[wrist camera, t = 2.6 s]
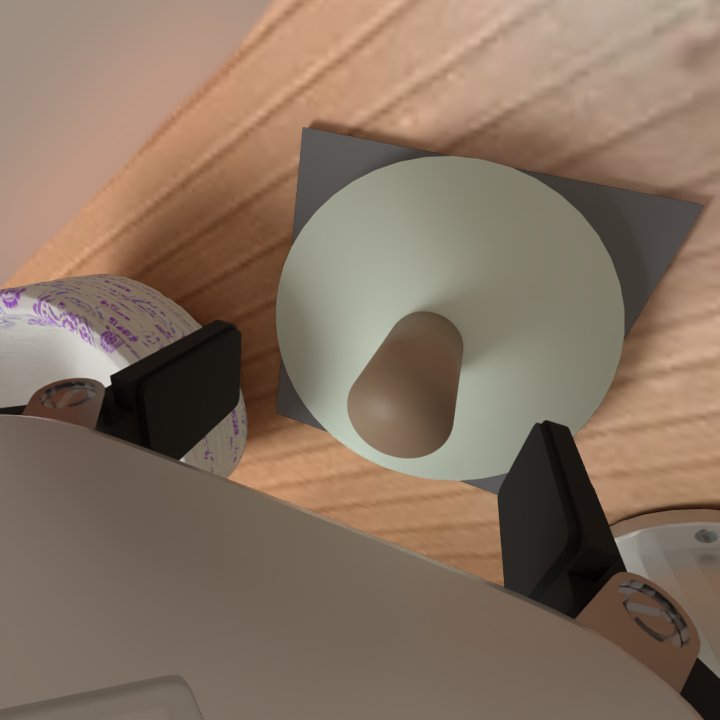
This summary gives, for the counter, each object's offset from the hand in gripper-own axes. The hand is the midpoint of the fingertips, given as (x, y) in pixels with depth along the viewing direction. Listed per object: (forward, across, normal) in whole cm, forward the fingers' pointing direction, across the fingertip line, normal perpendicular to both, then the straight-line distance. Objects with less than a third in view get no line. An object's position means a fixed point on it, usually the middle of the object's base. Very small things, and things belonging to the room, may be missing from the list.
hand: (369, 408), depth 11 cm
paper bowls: (+9, +15, +9) cm, 19 cm away
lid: (+8, -1, +1) cm, 8 cm away
